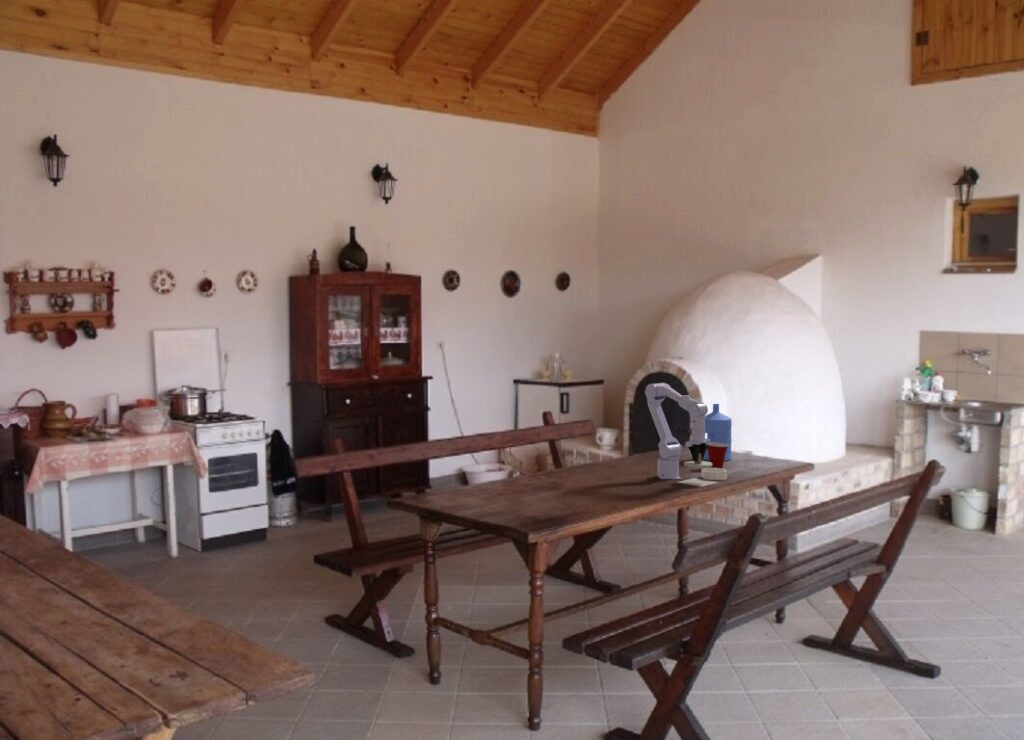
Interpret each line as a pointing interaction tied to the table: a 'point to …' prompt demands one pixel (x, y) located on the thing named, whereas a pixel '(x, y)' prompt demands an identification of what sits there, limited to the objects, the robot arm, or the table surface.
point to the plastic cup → (717, 453)
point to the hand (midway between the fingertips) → (697, 461)
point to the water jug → (718, 430)
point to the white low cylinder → (714, 473)
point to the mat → (697, 482)
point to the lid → (698, 463)
